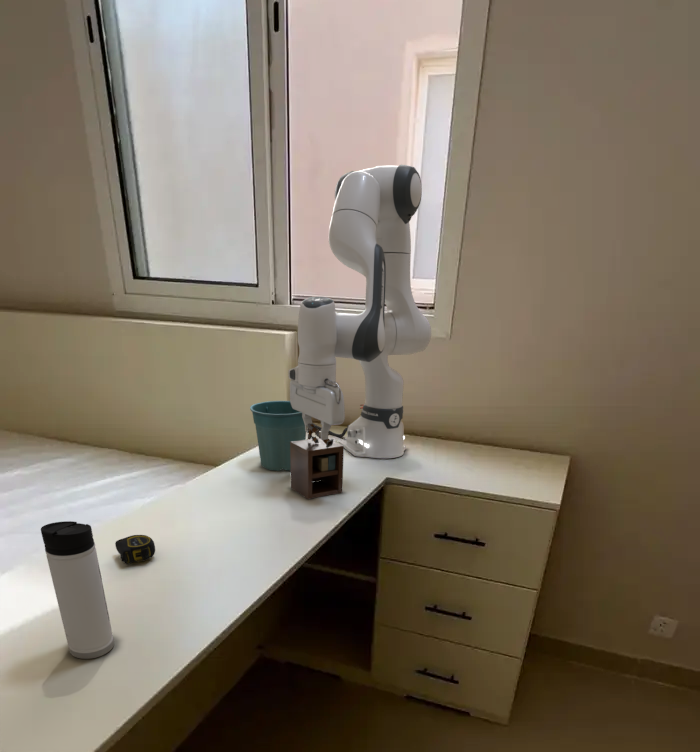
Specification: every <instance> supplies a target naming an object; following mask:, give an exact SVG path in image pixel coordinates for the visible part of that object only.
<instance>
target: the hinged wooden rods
mask: <svg viewBox="0 0 700 752" xmlns="http://www.w3.org/2000/svg"><path fill="white" fill-rule="evenodd" d="M313 424H314V423H313ZM313 424H310V423H309V424H308V428H309V429H310V430H309V433H307V439H312V441H314V442H315V443H319V441H318V439H317V438H319V431H320V430H318V429H316V428H315V426H314V425H313ZM312 431H313V432H312ZM313 433H314V435H315V436H313ZM323 441H324V443H325V444H326V447H327V448H328V447H330V446H332V444H333V441H334V439H333V438H331V439H330V438H328V439H326V440H323Z"/></svg>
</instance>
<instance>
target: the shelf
mask: <svg viewBox="0 0 700 752" xmlns="http://www.w3.org/2000/svg"><path fill="white" fill-rule="evenodd" d="M316 438H317V439H318V441H319V443H315V442H314V441H312V438H311V439H308V438H306V440H300V441H292V442H290V461H291V470H290V489H291V490H292V491H294V492H296V493H297V494H299V495H300V496H301V497H304V498H305V499H307V500H313V499H314V498H315V499H317V498H320V497H327V496H332V495H337V494H343V484H344V481H343V480H344V452H345V451H344V449H345V448H344V446H343V445H340V444H339V442H336V441H334V440H333V444H332V446H330V447H328V448H327V447H326V444H325V443H324V441H323V440H322V439H320V438H319V437H316Z"/></svg>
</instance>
